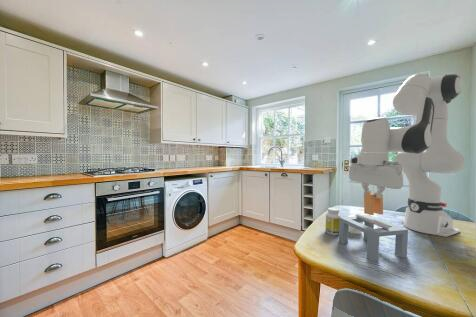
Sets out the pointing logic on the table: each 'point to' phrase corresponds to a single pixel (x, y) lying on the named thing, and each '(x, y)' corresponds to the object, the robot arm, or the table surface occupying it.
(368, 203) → the tall tan box
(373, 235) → the square frame with slider
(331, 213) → the pill bottle
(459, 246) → the table surface
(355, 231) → the shot glass
